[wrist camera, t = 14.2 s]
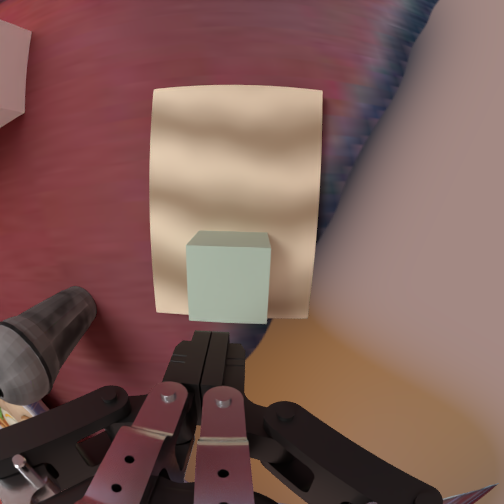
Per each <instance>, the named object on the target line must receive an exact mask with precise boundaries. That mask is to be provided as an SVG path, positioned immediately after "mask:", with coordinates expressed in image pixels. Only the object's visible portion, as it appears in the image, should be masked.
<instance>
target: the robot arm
mask: <svg viewBox="0 0 504 504" xmlns="http://www.w3.org/2000/svg"><path fill="white" fill-rule="evenodd" d="M244 380H245V350H244V348H243V347H242V345H241V344H233V343H230V341H229V332H214V331H213V332H212V331H196V330H195V332H194V335H193V338H192V341H182V342H181V343H179V344H178V345H177V346H176V347H175V350H174V352H173V356H172V357H171V360H170V362H169V365H168V368H167V370H166V373H165V375H164V378H163V381H162V382H161V383H159V384H157V385H155V386H154V387H153V388H152V389H151V390H150V392H149V394H146V395H140V396H128V394H127V392H126V391H125V390H124V389H123V388H121V387H118V386H105V387H102V388H99V389H97V390H95V391H93V392H91V393H88V394H86V395H84V396H81V397H79V398H77V399H75V400H72V401H70V402H68V403H65V404H63V405H61V406H58V407H56V408H53V409H51V410H49V411H46V412H44V413H41V414H39V415H36V416H34V417H31V418H29V419H26V420H23V421H21V422H18V423H16V424H13V425H10V426H7V427H5V428H2V429H0V498H1V501H2V503H3V504H278V503H277V502H275V501H274V500H272V499H270V498H268V497H267V496H264V495H262V494H260V493H257V492H254V491H253V484H252V475H251V464H250V457H251V458H254V459H258V460H260V461H261V463H262V465H263V466H264V467H265V468H266V469H267V470H269V471H270V472H271V473H272V474H273V475H274V476H275V477H276V478H278V479H279V480H280V481H281V482H282V483H283V484H285V485H286V486H287V487H288V488H289V489H291V490H292V491H293V492H294V493H295V494H297V495H298V496H299V497H301V498H302V499H303V500H304V501H305V502H307V503H308V504H443V499H442V496H441V494H440V492H439V491H438V490H437V489H436V488H434V487H432V486H430V485H428V484H426V483H424V482H422V481H420V480H418V479H416V478H415V477H412V476H410V475H409V474H407V473H405V472H403V471H401V470H400V469H398V468H396V467H394V466H393V465H391V464H389V463H387V462H385V461H384V460H382V459H380V458H378V457H377V456H375V455H374V454H372V453H370V452H369V451H367V450H365V449H364V448H362V447H360V446H359V445H357V444H356V443H354V442H352V441H351V440H349V439H348V438H346V437H345V436H343V435H342V434H340V433H339V432H337V431H336V430H334V429H333V428H331V427H330V426H328V425H327V424H325V423H323V422H322V421H321V420H319V419H318V418H317V417H315V416H313V415H312V414H311V413H309V412H308V411H307V410H305V409H304V408H302V407H301V406H300V405H298V404H296V403H293V402H288V401H281V402H276V403H273V404H271V405H270V406H269V407H263V406H259V405H256V404H254V403H252V402H251V401H250V400H248V399H247V397H246V396H245V393H244ZM196 425H201V433H200V439H199V440H198V442H197V455H196V469H195V482H192V483H191V482H190V483H184V477H185V472H186V469H187V465H188V462H189V459H190V455H191V452H192V448H193V445H194V441H195V436H194V434H195V430H196ZM103 428H104V429H105V431H104V432H102V433H100V434H98V435H96V436H94V437H92V438H90V439H88V440H86V441H83V442H81V443H77V442H78V441H79V440H81V439H83V438H85V437H87V436H89V435H91V434H93V433H95V432H97V431H99V430H101V429H103ZM67 488H68V489H67ZM65 489H66V490H65ZM63 490H64V491H63ZM61 491H62V492H61Z"/></svg>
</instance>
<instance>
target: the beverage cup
mask: <svg viewBox="0 0 504 504" xmlns="http://www.w3.org/2000/svg"><path fill="white" fill-rule="evenodd" d="M96 312H97V311H96V305H95V302H94V300H93V298H92V297H91V295H90V294H89V293H88V292H87V291H86V290H85V289H83V288H81V287H77V286H73V287H70V288H69V289H66V290H63V291H61V292H59V293H57V294H55V295H53V296H52V297H50V298H48V299H46V300H44V301H43V302H41V303H39V304H37V305H35V306H34V307H32V308H30V309H28V310H27V311H25V312H23V313H21V314H20V315H18V316H14V317H11V318H8V319H6V320H4V321H2V322H0V399H2V400H4V401H5V402H7V403H10V404H14V405H18V406H25V405H30V404H32V403H35V402H37V401H39V400H40V399H42V398H43V397H44V396H45V395H47V394H49V393H50V391H51V389H52V387H53V383H54V381H55V379H56V377H57V375H58V373H59V370H60V368H61V367H62V365H63V364H64V362H65V361H66V359H67V358H68V356H69V355H70V353H71V352H72V350H73V349H74V347H75V346H76V345H77V343H78V342H79V340H80V339H81V338H82V336H83V335H84V333H85V332H86V331H87V329H88V328H89V326H90V324H91V322H92V321H93V320H94V318H95V317H96Z"/></svg>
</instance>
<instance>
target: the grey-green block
mask: <svg viewBox="0 0 504 504" xmlns="http://www.w3.org/2000/svg"><path fill="white" fill-rule="evenodd" d="M270 260H271V245H270V241H269V237H268V233H264V232H235V231H200V230H199V231H198V232H197V233H196V235H195V236H194V237H193V238H192V239H191V240H190V241H189V242H188V243H187V245H186V266H187V291H188V309H189V320H191V321H207V322H226V323H251V324H267V311H268V295H269V278H270Z"/></svg>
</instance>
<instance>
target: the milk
mask: <svg viewBox="0 0 504 504" xmlns="http://www.w3.org/2000/svg"><path fill="white" fill-rule="evenodd" d="M31 34H32V32H31V31H29V30H26V29H24V28H21V27H19V26H16V25H13V24H11V23H8V22H5V21H2V20H0V128H1V127H2V126H4V125H6V124H7V123H9V122H10V121H12V120H13V119H15V118H17V117H18V116H20V115H22V114H23V113H25V87H26V73H27V62H28V54H29V46H30V40H31Z"/></svg>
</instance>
